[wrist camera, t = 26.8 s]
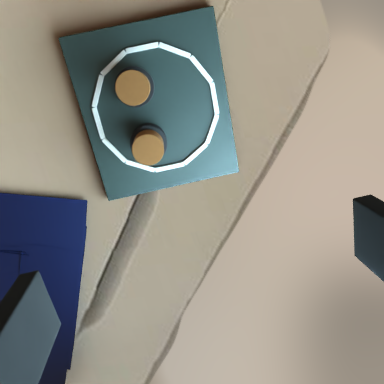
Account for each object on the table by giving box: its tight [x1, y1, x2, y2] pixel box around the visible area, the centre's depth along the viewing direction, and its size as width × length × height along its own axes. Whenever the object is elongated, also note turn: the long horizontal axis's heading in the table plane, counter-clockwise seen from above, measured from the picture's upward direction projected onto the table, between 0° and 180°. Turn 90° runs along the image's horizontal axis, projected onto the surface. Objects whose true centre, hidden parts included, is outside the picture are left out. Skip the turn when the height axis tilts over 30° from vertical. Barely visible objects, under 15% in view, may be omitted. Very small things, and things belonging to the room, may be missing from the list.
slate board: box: [59, 6, 239, 201], centre depth 37 cm, size 16×18×1 cm
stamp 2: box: [130, 123, 167, 165], centre depth 35 cm, size 4×4×5 cm
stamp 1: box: [114, 66, 154, 107], centre depth 33 cm, size 4×4×5 cm
